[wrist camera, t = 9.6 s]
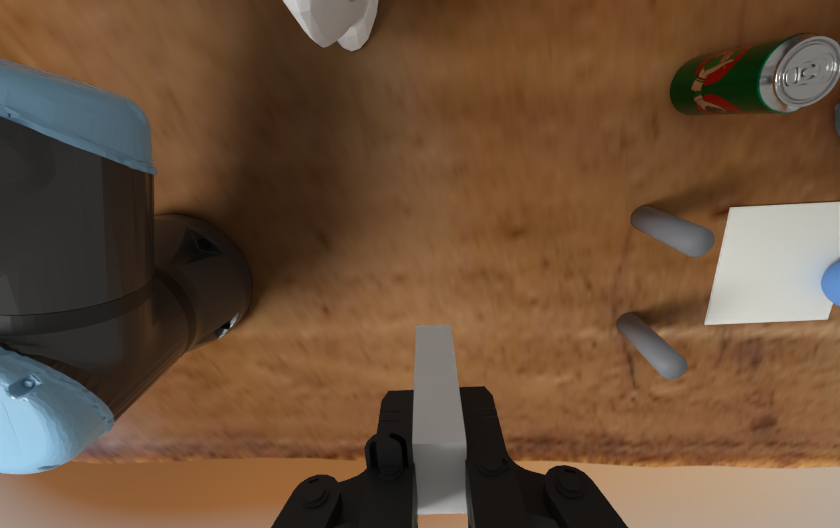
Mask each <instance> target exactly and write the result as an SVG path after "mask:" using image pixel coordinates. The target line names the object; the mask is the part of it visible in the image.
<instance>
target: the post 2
mask: <svg viewBox="0 0 840 528" xmlns="http://www.w3.org/2000/svg"><path fill="white" fill-rule="evenodd" d="M617 328H618V329H619V330H620V331H621V332H622V334H623V335H624V336H625V337H626V338H627V339H628V340H629V341H630V342H631V343H632V344H633V345H634V346H635V348H636V349H637V350H638V351H639V352H640V353H641V354H642V355H643V356H644V357H645V358H646V359H647V360H648V362H649V363H650V364H651V365H652V366H653V367H654V368H655V369H656V370H657V371H658V372H659V373H660V374H661V375H662V377H664V378H666V379H675V378H678V377H680V376H682V375H683V374H684V373H685V371H686V369H687V362H686V360H685V359H684V358H683V357H682V356H680V355H679V354H678V353H677V352H676V351H675V350H674V349H673V348H672V347H671V346H670V345H668V344H667V343H666V342H665V341H664V340H663V339H662V338H661V337H660V336H659V335H658V334H657V333H655V332H654V331H653V330H652V329H651V328H650V327H649V326H648V325H647V324H646V323H645V322H643V321H642V320H641V319H640V318H639V317H638V316H637V315H636V314H634V313H626V314H623V315H622V316H620V317H619V319H618V320H617Z"/></svg>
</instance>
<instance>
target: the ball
mask: <svg viewBox="0 0 840 528" xmlns="http://www.w3.org/2000/svg"><path fill="white" fill-rule="evenodd" d="M821 287H822V291H823V293H824V294H825V296H826V297H827V298H828V299H829V300H830V301H831V302H833V303H834V304H836V305H838V306H840V262H838V263H836V264H834V265H832V266H831V267H830V268H829V269H827V270H826V272H825V273H824V275H823V277H822V280H821Z"/></svg>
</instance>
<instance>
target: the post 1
mask: <svg viewBox="0 0 840 528" xmlns="http://www.w3.org/2000/svg"><path fill="white" fill-rule="evenodd" d="M631 224H632V226H633V227H634V228H636V229H638V230H640V231H642V232H644V233H646V234H648V235H650V236H652V237H653V238H655V239H657V240H659V241H661V242H663V243H665V244H667V245H669V246H671V247H673V248H675V249H677V250H679V251H681V252H683V253H685V254H687V255H689V256H691V257H699V256H702V255H704V254H706V253H707V252H708V251H709V250H710V249H711V248H712V246H713V244H714V235H713V233H712V231H710V230H709V229H707V228H704V227H702V226H699V225H696V224H694V223H691V222H689V221H686V220H683V219H681V218H678V217H676V216H673V215H670V214H668V213H665V212H663V211H660V210H657V209H655V208H652V207H650V206H641V207H639V208H637V209H636V210H635V211H634V212H633V213H632V215H631Z"/></svg>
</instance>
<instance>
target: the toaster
mask: <svg viewBox="0 0 840 528" xmlns="http://www.w3.org/2000/svg"><path fill="white" fill-rule="evenodd" d="M835 112H836V113H835V129H836V132H837V134H838V136H839V137H840V102H839V103H838V104H837V105H836V107H835Z"/></svg>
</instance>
